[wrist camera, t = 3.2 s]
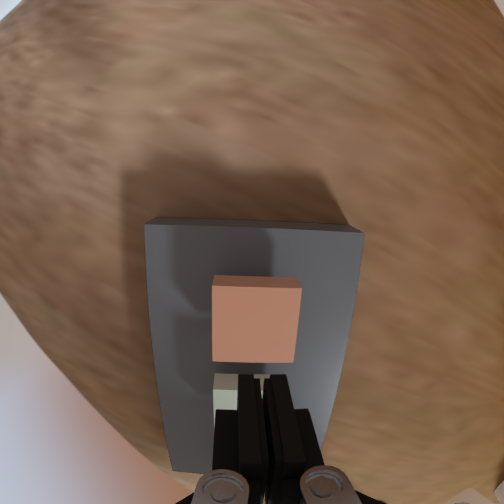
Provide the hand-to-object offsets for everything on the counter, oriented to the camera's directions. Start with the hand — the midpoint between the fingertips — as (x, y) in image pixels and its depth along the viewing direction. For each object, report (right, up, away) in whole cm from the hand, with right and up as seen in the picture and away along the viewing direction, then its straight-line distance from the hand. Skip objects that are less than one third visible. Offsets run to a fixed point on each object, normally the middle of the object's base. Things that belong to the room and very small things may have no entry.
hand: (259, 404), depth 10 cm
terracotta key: (0, +2, +9) cm, 9 cm away
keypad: (-1, -4, +15) cm, 15 cm away
